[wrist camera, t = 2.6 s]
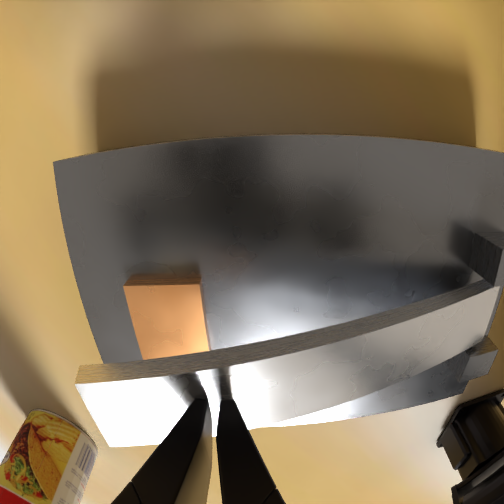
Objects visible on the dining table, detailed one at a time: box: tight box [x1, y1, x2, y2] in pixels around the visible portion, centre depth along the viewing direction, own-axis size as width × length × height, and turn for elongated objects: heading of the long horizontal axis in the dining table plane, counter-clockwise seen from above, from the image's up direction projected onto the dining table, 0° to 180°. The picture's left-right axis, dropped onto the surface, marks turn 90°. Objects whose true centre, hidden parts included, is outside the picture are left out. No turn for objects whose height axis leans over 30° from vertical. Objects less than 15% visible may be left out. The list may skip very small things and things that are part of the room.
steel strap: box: [75, 279, 500, 447], centre depth 10 cm, size 16×3×1 cm, turn 91°
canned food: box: [0, 409, 98, 504], centre depth 17 cm, size 8×8×12 cm
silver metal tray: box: [53, 134, 504, 427], centre depth 13 cm, size 20×14×6 cm
